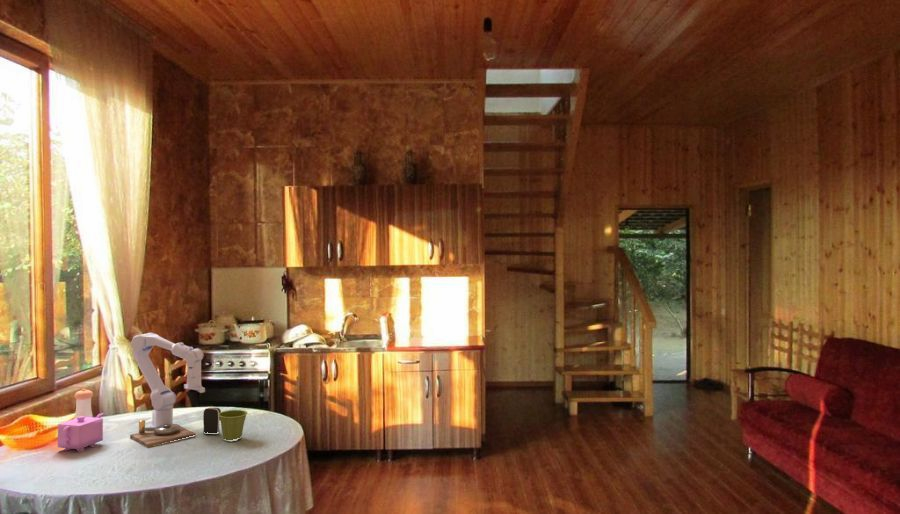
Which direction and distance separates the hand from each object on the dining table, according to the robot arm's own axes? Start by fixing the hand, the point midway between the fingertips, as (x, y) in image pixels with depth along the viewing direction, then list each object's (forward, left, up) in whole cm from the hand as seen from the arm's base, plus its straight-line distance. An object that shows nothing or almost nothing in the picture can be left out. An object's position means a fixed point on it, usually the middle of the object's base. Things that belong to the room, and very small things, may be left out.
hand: (194, 406), depth 266 cm
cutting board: (+2, -14, -10) cm, 18 cm away
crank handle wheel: (-1, -15, -9) cm, 17 cm away
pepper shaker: (-30, -35, -11) cm, 48 cm away
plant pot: (+26, +5, -11) cm, 28 cm away
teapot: (-9, -41, -11) cm, 44 cm away
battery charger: (+12, +3, -11) cm, 16 cm away
